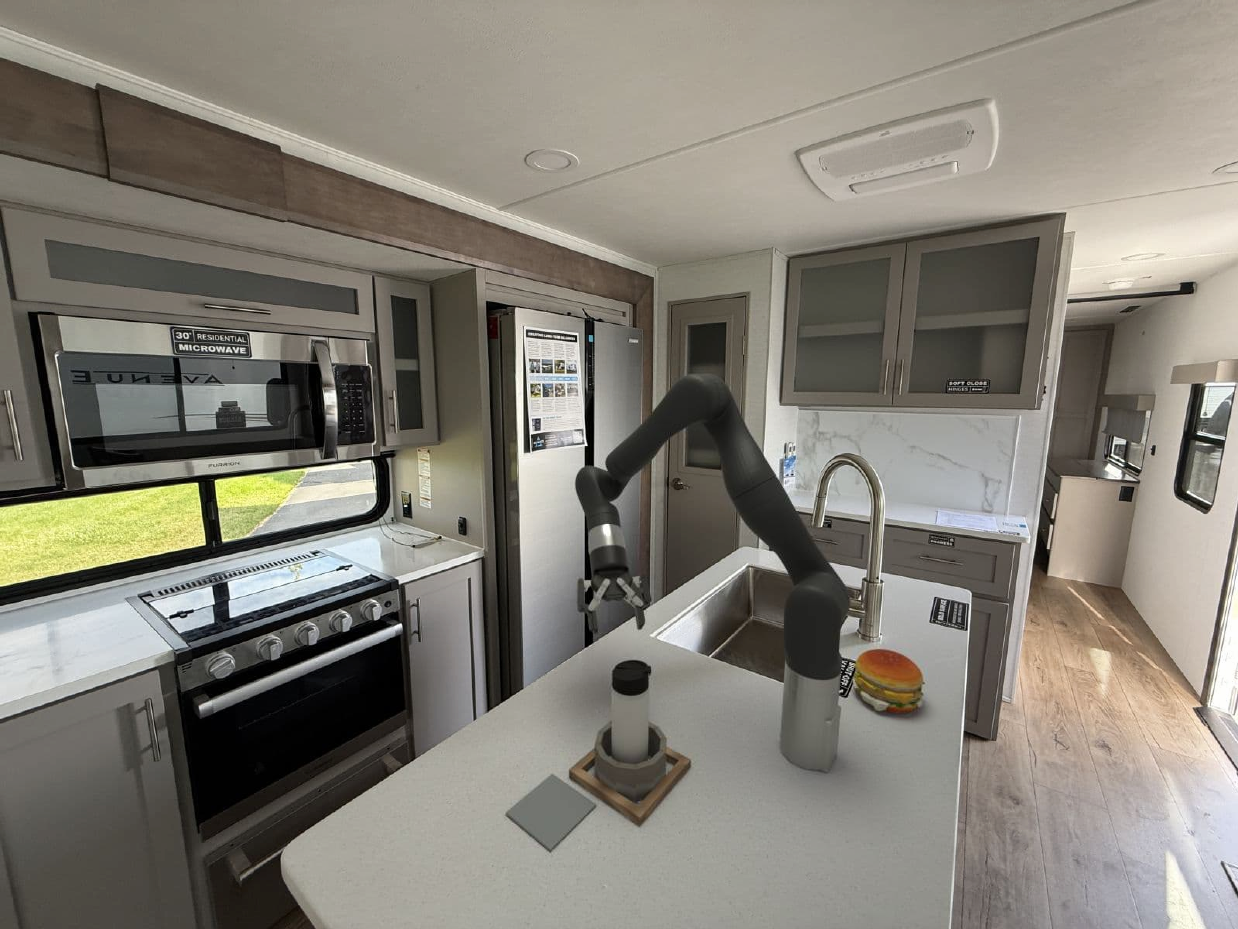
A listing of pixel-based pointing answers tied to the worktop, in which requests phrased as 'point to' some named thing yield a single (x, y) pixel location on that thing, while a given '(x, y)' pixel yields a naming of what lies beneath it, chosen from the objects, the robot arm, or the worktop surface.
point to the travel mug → (630, 711)
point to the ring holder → (631, 774)
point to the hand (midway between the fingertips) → (618, 630)
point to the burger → (888, 681)
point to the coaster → (551, 811)
